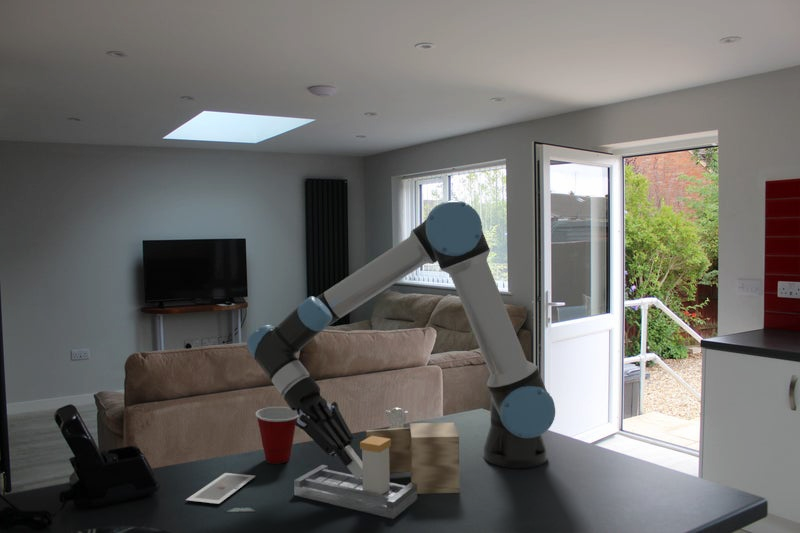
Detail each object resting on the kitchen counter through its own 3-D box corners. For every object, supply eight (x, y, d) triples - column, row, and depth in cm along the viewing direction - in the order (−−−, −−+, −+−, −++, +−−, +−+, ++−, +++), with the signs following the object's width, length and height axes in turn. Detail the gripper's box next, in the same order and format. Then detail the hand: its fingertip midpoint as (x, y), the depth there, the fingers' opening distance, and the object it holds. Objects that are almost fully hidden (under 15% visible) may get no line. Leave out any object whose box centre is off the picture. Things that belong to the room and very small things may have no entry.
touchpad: (185, 505, 123) (185, 494, 123) (225, 477, 138) (225, 468, 138) (219, 509, 121) (218, 498, 121) (255, 480, 136) (255, 471, 135)
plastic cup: (291, 469, 141) (290, 418, 140) (248, 466, 143) (247, 416, 143) (307, 453, 152) (306, 406, 151) (267, 451, 154) (266, 404, 153)
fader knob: (360, 492, 121) (359, 442, 121) (372, 484, 125) (371, 435, 125) (380, 497, 119) (379, 445, 119) (391, 488, 123) (390, 438, 123)
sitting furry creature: (381, 464, 144) (380, 414, 143) (374, 452, 152) (373, 405, 152) (419, 460, 146) (418, 411, 145) (410, 448, 154) (409, 402, 154)
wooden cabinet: (454, 474, 137) (453, 422, 136) (459, 492, 126) (459, 436, 126) (367, 475, 136) (366, 423, 136) (365, 494, 126) (364, 438, 125)
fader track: (294, 495, 126) (294, 480, 126) (322, 478, 135) (322, 464, 135) (393, 518, 115) (393, 502, 114) (417, 499, 123) (417, 483, 123)
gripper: (305, 390, 138) (368, 474, 131) (267, 404, 127) (334, 496, 119) (324, 370, 135) (389, 454, 128) (287, 381, 124) (355, 475, 117)
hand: (362, 474), depth 124 cm, fingers closed
